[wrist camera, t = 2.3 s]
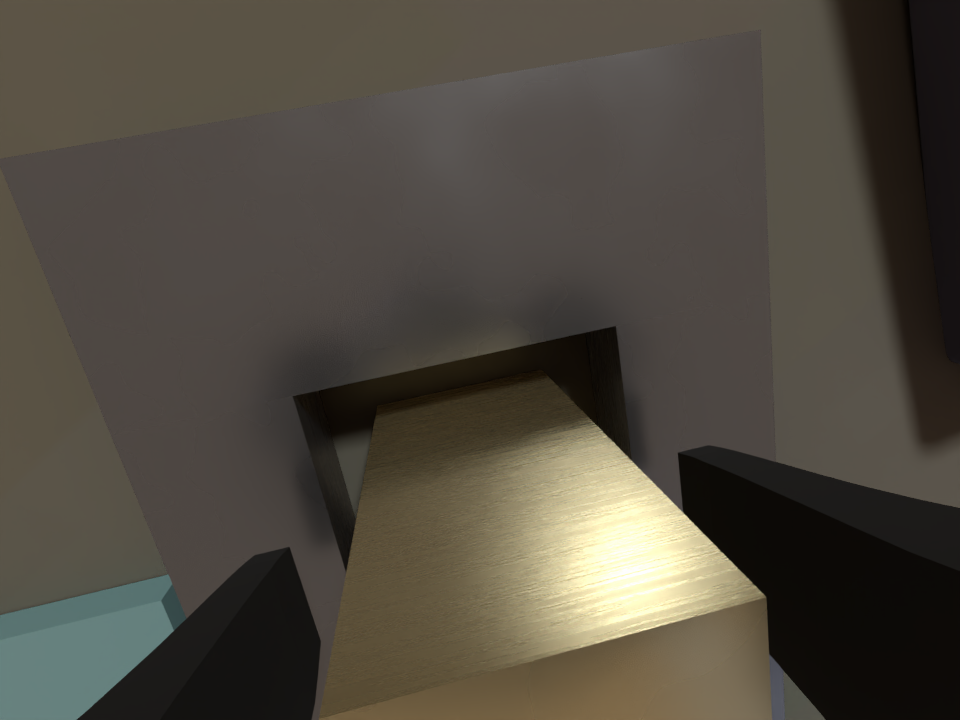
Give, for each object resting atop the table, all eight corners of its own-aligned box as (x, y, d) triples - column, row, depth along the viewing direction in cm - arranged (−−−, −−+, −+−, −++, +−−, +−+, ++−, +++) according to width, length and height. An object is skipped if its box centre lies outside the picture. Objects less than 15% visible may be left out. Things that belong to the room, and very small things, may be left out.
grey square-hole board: (746, 796, 17) (792, 873, 15) (356, 915, 16) (347, 1016, 14) (698, 66, 11) (764, 27, 9) (77, 173, 10) (-9, 157, 8)
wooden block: (564, 513, 13) (780, 897, 6) (414, 550, 13) (422, 1015, 5) (541, 369, 12) (766, 597, 5) (377, 405, 12) (319, 718, 4)
